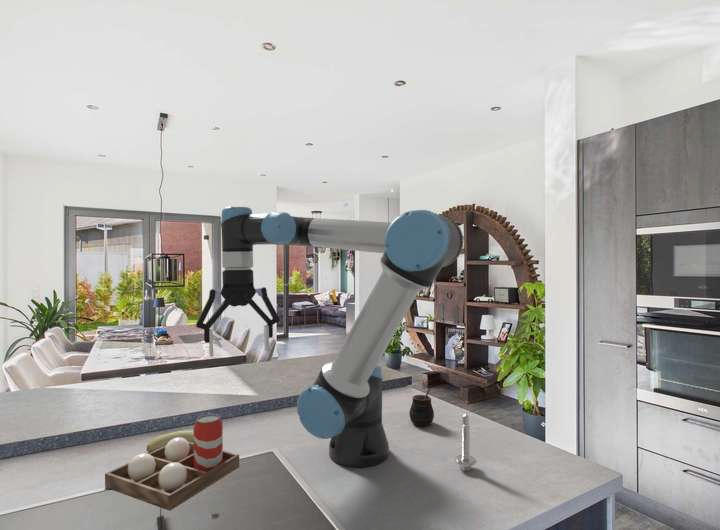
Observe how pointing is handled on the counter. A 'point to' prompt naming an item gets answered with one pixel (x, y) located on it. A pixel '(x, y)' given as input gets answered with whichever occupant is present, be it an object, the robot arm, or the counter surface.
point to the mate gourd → (421, 410)
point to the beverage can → (208, 442)
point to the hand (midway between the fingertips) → (239, 353)
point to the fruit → (164, 439)
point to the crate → (150, 486)
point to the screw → (465, 447)
